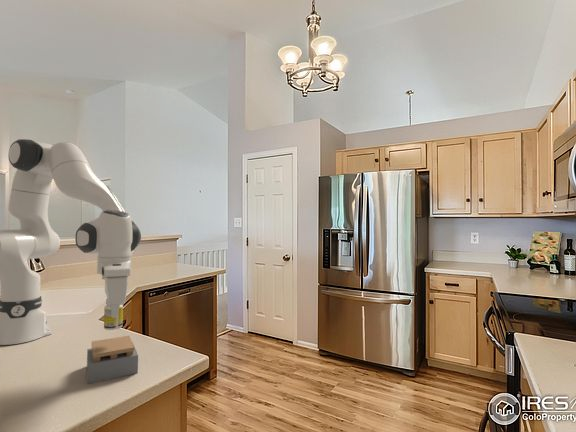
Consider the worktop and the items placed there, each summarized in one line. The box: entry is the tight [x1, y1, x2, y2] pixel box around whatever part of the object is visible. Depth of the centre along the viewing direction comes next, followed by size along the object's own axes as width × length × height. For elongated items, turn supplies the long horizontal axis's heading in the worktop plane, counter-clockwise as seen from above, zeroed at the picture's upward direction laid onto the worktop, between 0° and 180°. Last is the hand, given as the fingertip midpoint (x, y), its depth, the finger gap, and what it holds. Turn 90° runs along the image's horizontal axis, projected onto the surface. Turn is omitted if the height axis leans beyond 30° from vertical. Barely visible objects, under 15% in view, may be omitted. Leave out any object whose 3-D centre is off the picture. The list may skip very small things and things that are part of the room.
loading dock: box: [86, 335, 139, 384], centre depth 94 cm, size 12×12×7 cm
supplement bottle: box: [103, 298, 124, 331], centre depth 94 cm, size 5×5×8 cm
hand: (113, 314), depth 94 cm, fingers closed on supplement bottle, 5 cm apart
